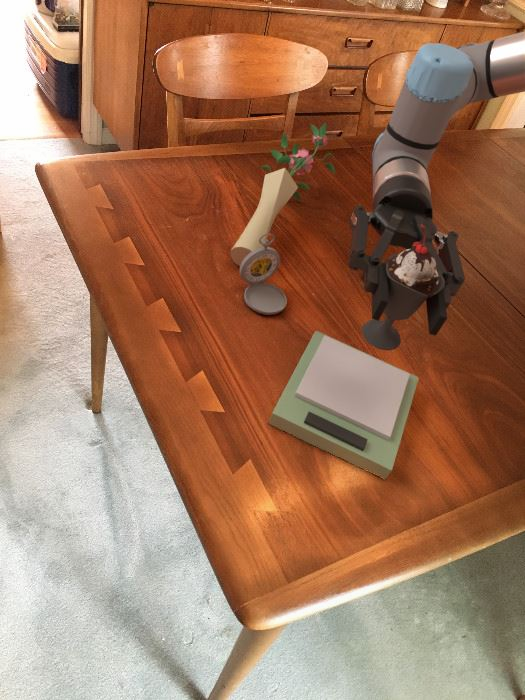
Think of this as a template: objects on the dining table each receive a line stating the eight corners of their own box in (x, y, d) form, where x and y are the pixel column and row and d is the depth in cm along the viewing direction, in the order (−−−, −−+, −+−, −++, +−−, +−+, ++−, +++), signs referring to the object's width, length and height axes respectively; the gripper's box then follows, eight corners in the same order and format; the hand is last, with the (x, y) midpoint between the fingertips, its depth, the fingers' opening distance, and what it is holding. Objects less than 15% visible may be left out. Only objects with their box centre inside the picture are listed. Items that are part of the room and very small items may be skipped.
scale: (412, 387, 80) (421, 373, 78) (384, 480, 68) (394, 467, 66) (311, 341, 82) (317, 326, 80) (267, 423, 70) (273, 409, 68)
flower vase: (220, 288, 97) (282, 162, 114) (287, 299, 93) (340, 168, 111) (204, 238, 87) (275, 110, 105) (278, 248, 83) (338, 113, 101)
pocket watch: (272, 323, 83) (289, 272, 75) (225, 297, 84) (237, 244, 77) (296, 295, 88) (314, 245, 81) (251, 271, 90) (265, 220, 82)
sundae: (363, 307, 70) (412, 207, 59) (412, 331, 69) (471, 234, 58) (346, 338, 66) (396, 237, 55) (398, 364, 65) (459, 266, 54)
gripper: (454, 241, 77) (475, 363, 61) (325, 206, 76) (312, 321, 60) (481, 195, 72) (512, 315, 56) (343, 156, 70) (334, 268, 55)
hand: (409, 318), depth 58 cm, fingers closed on sundae, 6 cm apart
